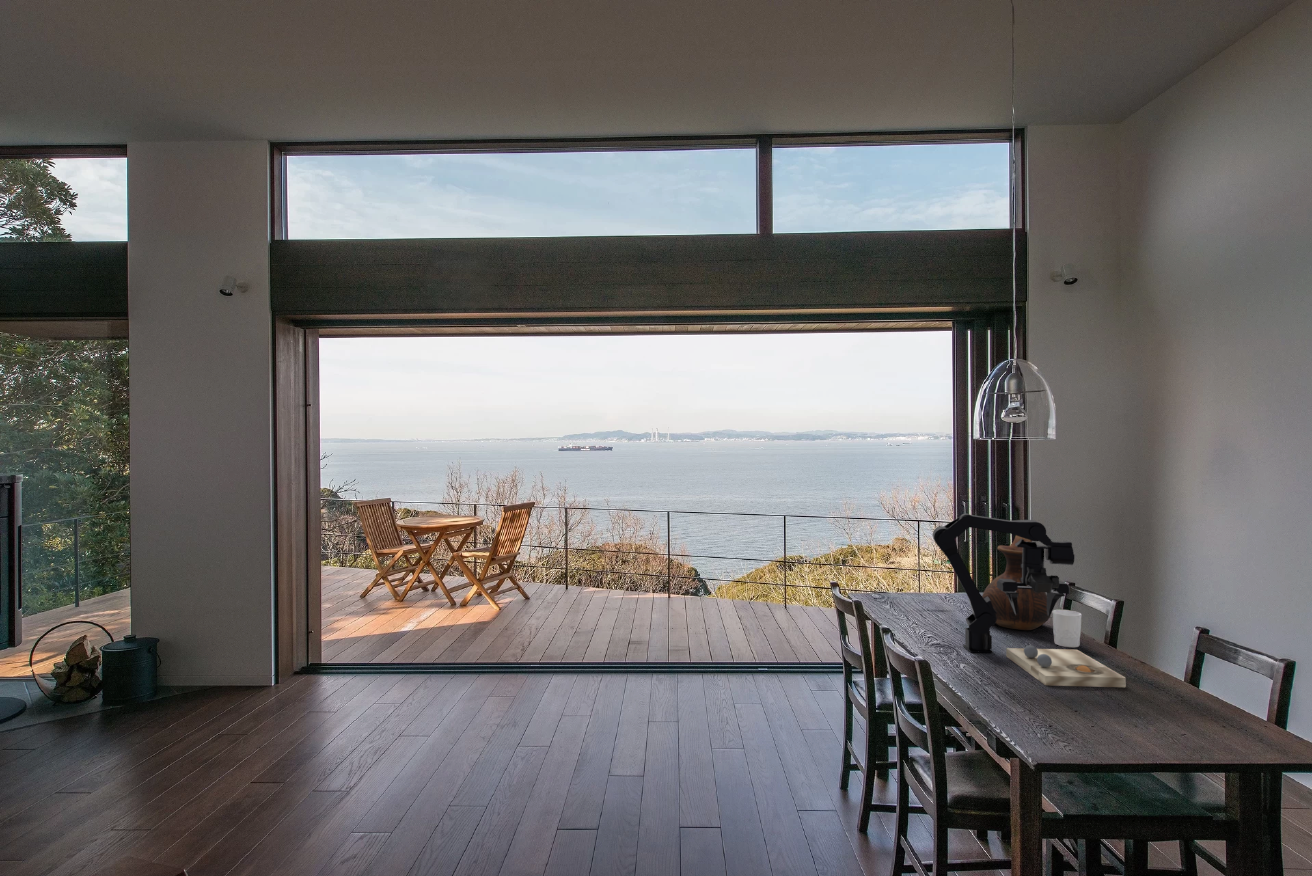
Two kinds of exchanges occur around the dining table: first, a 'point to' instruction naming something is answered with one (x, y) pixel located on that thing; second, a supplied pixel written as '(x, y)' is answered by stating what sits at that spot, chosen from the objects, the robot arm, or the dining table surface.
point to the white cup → (1066, 627)
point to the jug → (1029, 602)
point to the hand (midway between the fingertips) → (1032, 615)
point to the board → (1067, 668)
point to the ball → (1083, 668)
